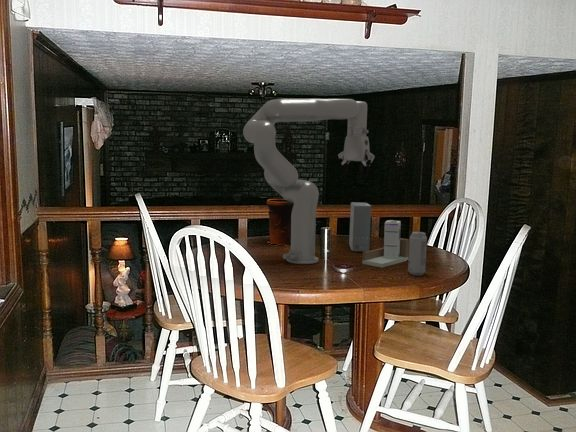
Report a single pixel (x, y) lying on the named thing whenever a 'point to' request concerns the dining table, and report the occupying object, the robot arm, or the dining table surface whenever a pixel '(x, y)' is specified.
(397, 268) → the dining table surface
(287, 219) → the vessel
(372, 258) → the shelf
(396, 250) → the syrup box
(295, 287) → the dining table surface
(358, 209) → the hard drive box
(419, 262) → the energy drink can
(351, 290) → the dining table surface
